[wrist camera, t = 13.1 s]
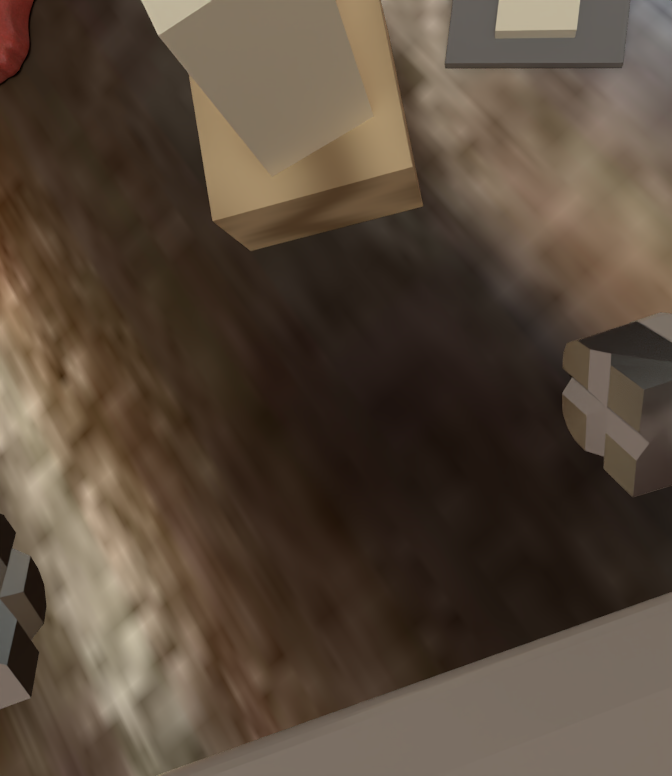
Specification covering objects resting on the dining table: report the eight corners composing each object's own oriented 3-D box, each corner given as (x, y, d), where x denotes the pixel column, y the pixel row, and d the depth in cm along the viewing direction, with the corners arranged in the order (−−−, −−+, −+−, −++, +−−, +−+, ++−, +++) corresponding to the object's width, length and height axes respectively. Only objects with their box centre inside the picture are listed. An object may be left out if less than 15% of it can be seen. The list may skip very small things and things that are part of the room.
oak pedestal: (252, 252, 33) (212, 221, 28) (225, 91, 34) (182, 34, 29) (423, 208, 31) (412, 166, 26) (390, 39, 32) (373, -31, 27)
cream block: (271, 176, 28) (158, 35, 18) (225, 83, 28) (93, -101, 19) (373, 116, 27) (313, -67, 17) (323, 22, 28) (238, -204, 18)
